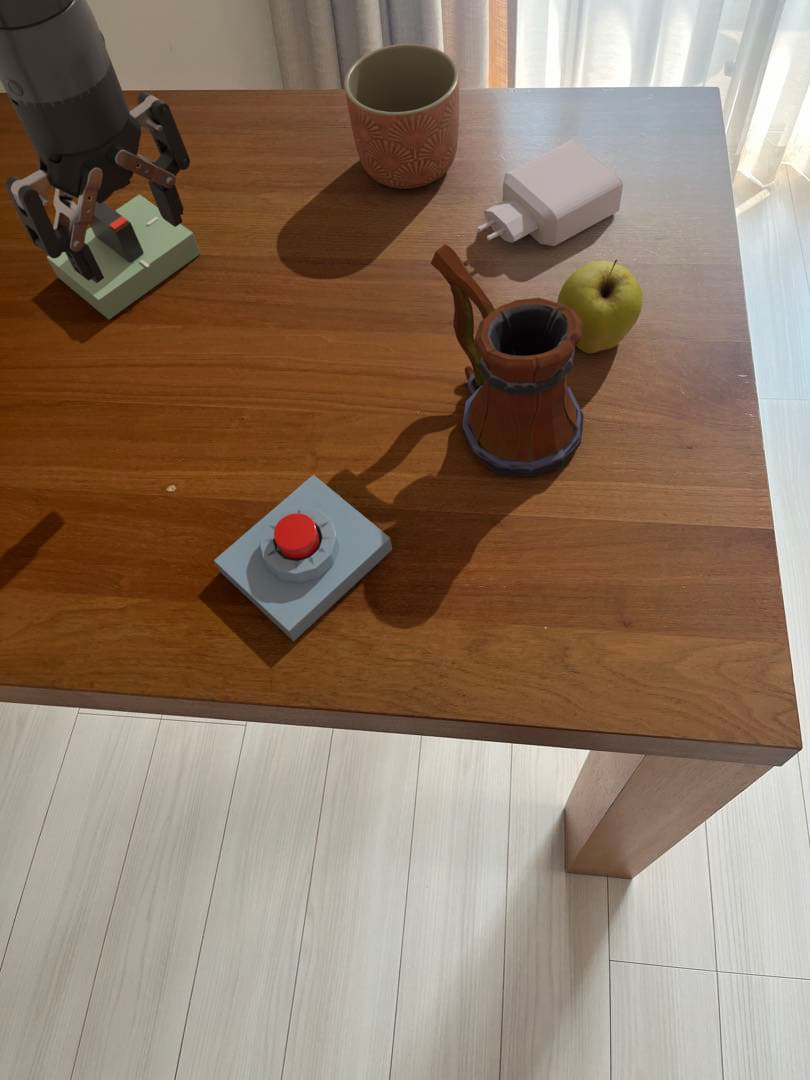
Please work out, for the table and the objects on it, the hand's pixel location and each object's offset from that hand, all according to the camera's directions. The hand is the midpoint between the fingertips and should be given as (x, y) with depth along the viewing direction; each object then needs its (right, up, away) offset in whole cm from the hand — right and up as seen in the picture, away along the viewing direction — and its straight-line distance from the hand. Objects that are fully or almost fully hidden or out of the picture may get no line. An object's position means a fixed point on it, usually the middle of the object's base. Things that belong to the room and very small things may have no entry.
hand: (134, 248), depth 75 cm
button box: (+14, -27, +4) cm, 30 cm away
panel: (-8, +6, +24) cm, 27 cm away
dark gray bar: (-8, +8, +22) cm, 25 cm away
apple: (+42, -4, +14) cm, 45 cm away
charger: (+38, +10, +23) cm, 45 cm away
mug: (+32, -12, +11) cm, 36 cm away
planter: (+24, +19, +29) cm, 42 cm away
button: (+14, -25, +1) cm, 29 cm away
